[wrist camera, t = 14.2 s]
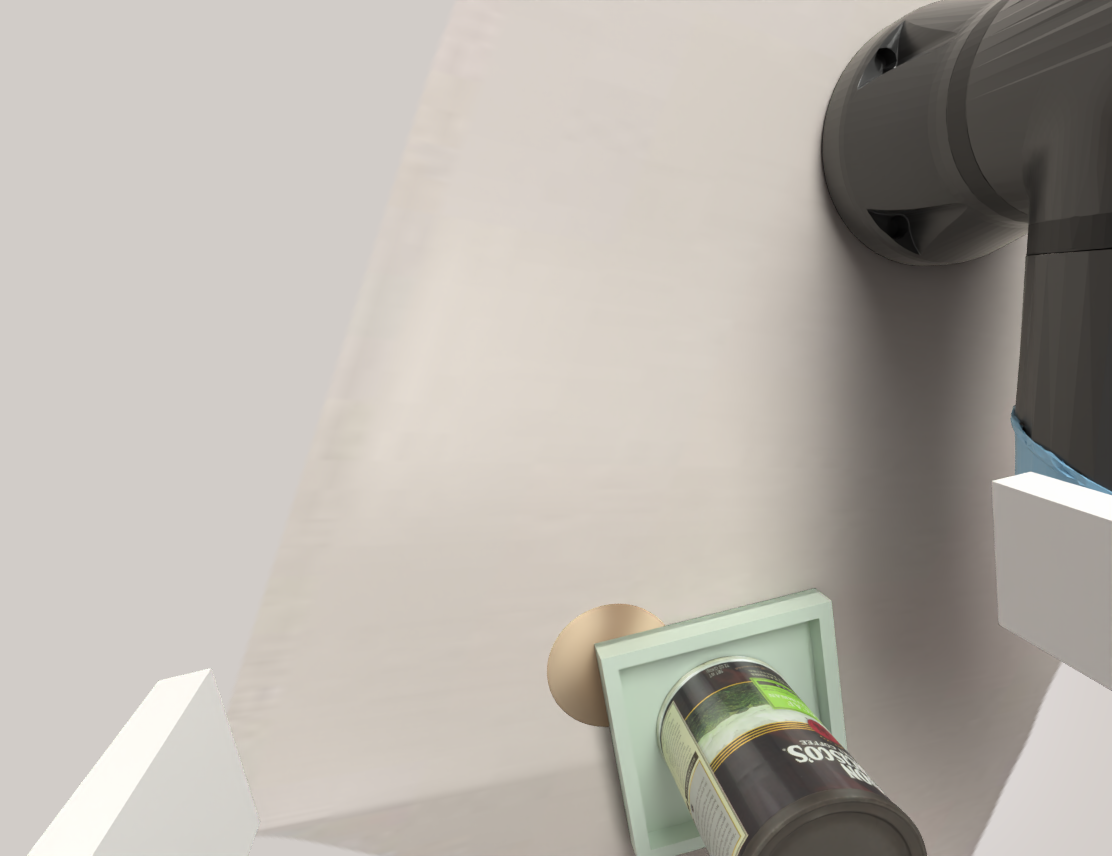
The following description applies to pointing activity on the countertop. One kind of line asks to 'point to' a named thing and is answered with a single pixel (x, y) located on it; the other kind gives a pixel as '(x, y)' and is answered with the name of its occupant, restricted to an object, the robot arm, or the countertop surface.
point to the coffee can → (771, 770)
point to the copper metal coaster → (590, 658)
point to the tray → (672, 651)
